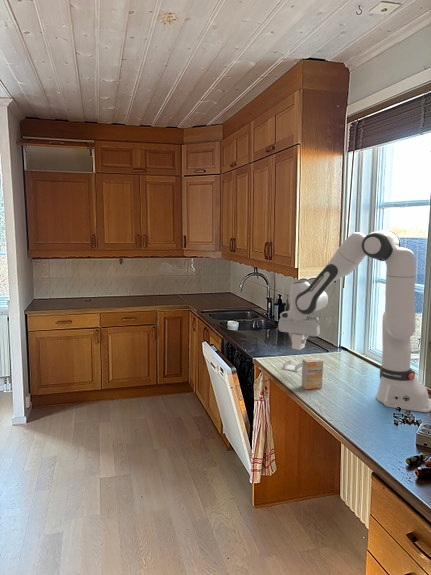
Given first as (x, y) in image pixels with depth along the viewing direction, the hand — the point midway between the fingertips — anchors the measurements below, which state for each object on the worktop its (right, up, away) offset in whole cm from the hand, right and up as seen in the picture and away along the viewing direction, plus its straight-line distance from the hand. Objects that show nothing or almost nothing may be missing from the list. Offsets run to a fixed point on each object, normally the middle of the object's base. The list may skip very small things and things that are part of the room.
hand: (298, 342), depth 217 cm
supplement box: (+4, -19, -13) cm, 23 cm away
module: (0, -3, 0) cm, 3 cm away
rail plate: (-1, -15, +12) cm, 19 cm away
